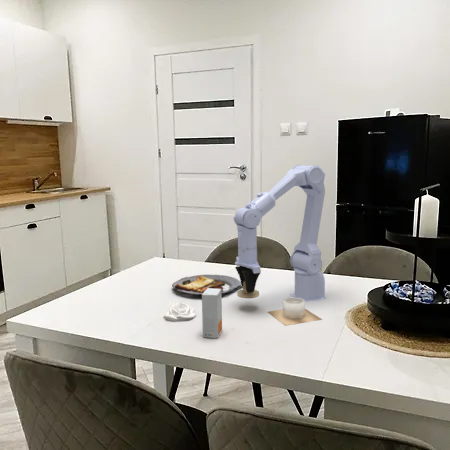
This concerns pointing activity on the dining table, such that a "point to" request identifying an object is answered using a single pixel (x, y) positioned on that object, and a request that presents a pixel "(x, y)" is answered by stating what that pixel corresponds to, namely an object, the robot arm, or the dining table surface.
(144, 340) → the dining table surface
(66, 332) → the dining table surface
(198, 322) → the dining table surface
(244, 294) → the lid
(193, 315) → the rose
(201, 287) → the food plate
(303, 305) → the jar
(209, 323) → the skincare box
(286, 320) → the square wooden coaster
